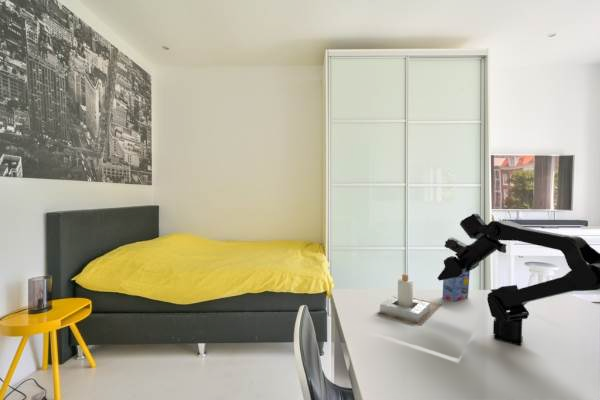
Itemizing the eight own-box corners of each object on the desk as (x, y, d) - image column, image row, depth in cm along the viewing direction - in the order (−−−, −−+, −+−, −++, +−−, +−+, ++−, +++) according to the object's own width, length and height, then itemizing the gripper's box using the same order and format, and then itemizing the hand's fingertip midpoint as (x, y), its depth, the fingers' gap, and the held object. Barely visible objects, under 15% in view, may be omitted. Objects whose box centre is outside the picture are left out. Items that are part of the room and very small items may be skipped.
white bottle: (414, 311, 108) (414, 274, 109) (410, 315, 104) (410, 277, 105) (400, 308, 111) (400, 272, 112) (395, 312, 107) (395, 274, 108)
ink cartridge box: (454, 303, 119) (455, 266, 119) (441, 299, 124) (442, 263, 124) (469, 299, 124) (470, 264, 124) (456, 295, 129) (457, 261, 129)
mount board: (442, 306, 116) (442, 304, 116) (421, 328, 97) (421, 325, 97) (403, 297, 125) (403, 295, 125) (376, 315, 106) (376, 313, 106)
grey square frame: (429, 311, 109) (430, 303, 109) (417, 323, 99) (418, 313, 99) (394, 302, 117) (394, 295, 117) (379, 312, 107) (380, 304, 107)
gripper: (470, 228, 109) (437, 254, 118) (451, 232, 96) (416, 261, 104) (495, 253, 104) (459, 279, 112) (478, 261, 91) (439, 290, 99)
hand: (443, 276), depth 107 cm, fingers open, 9 cm apart
